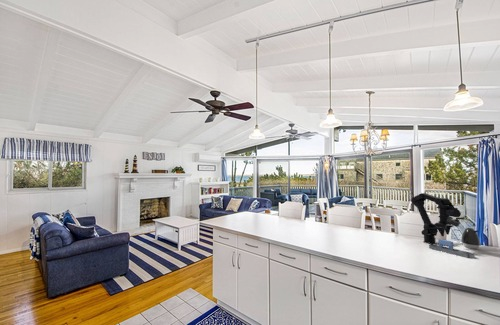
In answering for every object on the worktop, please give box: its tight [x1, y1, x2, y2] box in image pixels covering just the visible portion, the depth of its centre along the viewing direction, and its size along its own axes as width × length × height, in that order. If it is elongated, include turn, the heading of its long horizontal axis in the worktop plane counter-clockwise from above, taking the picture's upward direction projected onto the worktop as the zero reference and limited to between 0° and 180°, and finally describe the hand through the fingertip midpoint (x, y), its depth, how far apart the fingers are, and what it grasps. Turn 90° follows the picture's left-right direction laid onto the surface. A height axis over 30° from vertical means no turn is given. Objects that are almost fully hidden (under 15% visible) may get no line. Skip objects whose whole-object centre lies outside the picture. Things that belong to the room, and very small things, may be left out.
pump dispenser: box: [461, 227, 481, 250], centre depth 168 cm, size 10×10×15 cm
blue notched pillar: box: [437, 238, 454, 249], centre depth 166 cm, size 8×3×6 cm, turn 30°
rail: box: [428, 243, 475, 260], centre depth 157 cm, size 24×6×2 cm, turn 30°
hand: (445, 235), depth 166 cm, fingers open, 9 cm apart
